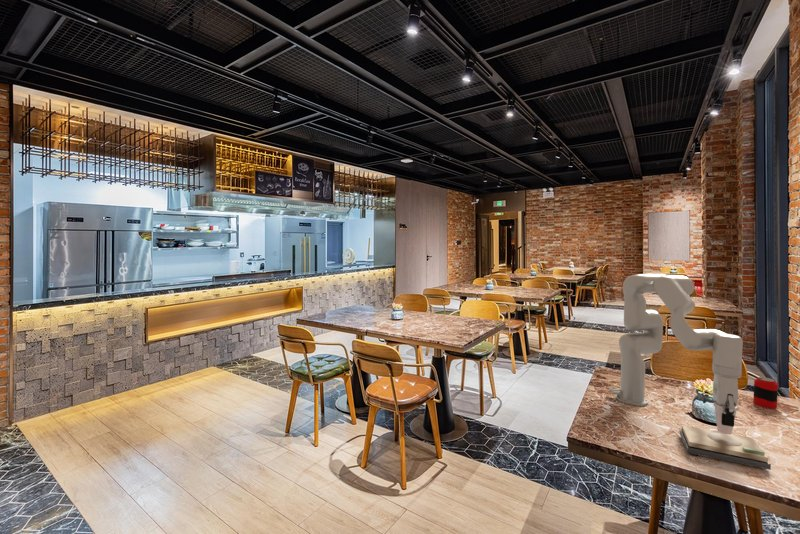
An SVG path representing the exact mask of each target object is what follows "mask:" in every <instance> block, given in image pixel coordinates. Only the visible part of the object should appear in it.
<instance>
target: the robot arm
mask: <svg viewBox="0 0 800 534" xmlns="http://www.w3.org/2000/svg"><path fill="white" fill-rule="evenodd" d="M694 291H695V284H694V281H693V280H692V279H691V278H689V277H688V276H686V275H678V274H667V273H637V274H632V275H629V276H627V277H626V278H625V279H624V281H623V284H622V293H623V299H624V303H623V325H624V327H625V329H626V330H629V331H636V332H629V333H625V334H623V335H621V336H619V337H620V338H619V339H618V347H619V351H620V387H619V388H611V387H609V392H608V393H611V394H612V395H616V396H615V397H616V400H618V402H621V403H624V404H625V405H629V406H636V407H644V406H648V405H649V400H648V399H647V398H646V397H645V391H646V390H645V387H646V386H645V385H646V384H645V383H646V363H645V361H644V359H643V357H642V356H641V355H647V354H651V355H652V354H653V355H654V354H657V353H659V352H660V351H661V350H662V348H663V337H664V336H663V335H664V334H663V333H664V330H663V329H664V321H663V318H662V317H663V316H662V315H661V314H660V312H659V311H657V310H654V309H647V299H646V298H645V295H644V294H656V295H657V296H658V297H659V298H660V300H661V301H662V303H663V304H664V305H665V307H666V308H667V309H668V311H669V312H670V318H669V325H670V329H671V332H672V333H673V335H674V336H675V338H676V339H677V341H678V342H679V344H681V345H682V346H683V348H685V349H687V350H689V351H712V373H713V382H712V389H711V390H712V392H711V395H712V398H713V399H714V400H715V401H716V402H717V403H718V404H719V405H721V404H723V413H722V421H721V423H722V425H726V426H731V427H733V428H734V427H735V420H734V418H735V419H736V415H735V413H734V412H735V411H734V410H735V407H736V406H737V407H738V403H739V402H738V401H739V383H738V382H739V379H740V378H742V372H743V370H742V369H743V367H742V366H743V365H742V364H743V344H744V343H743V342H744V341H743V338H742V337H741V336H739V335H737V334H734V333H733V334H732V333H727V332H724V331H721V330H720V329H719V330H718V329H716V328H699V329H698V328H696V329H694V328H692V327H691V326H690V325H689V323H688V322H687V320H686V318H685V316H686V315H688V314H689V313H692V311H694V309H695V308H696V303H695V301H694V300H693V299H692V298H691V296H690V295H691V294H693V293H694ZM637 331H638V332H637ZM639 331H641V332H639ZM642 331H643V332H642ZM725 403H728V405H726V404H725ZM726 407H728V408H727V409H726Z"/></svg>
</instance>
